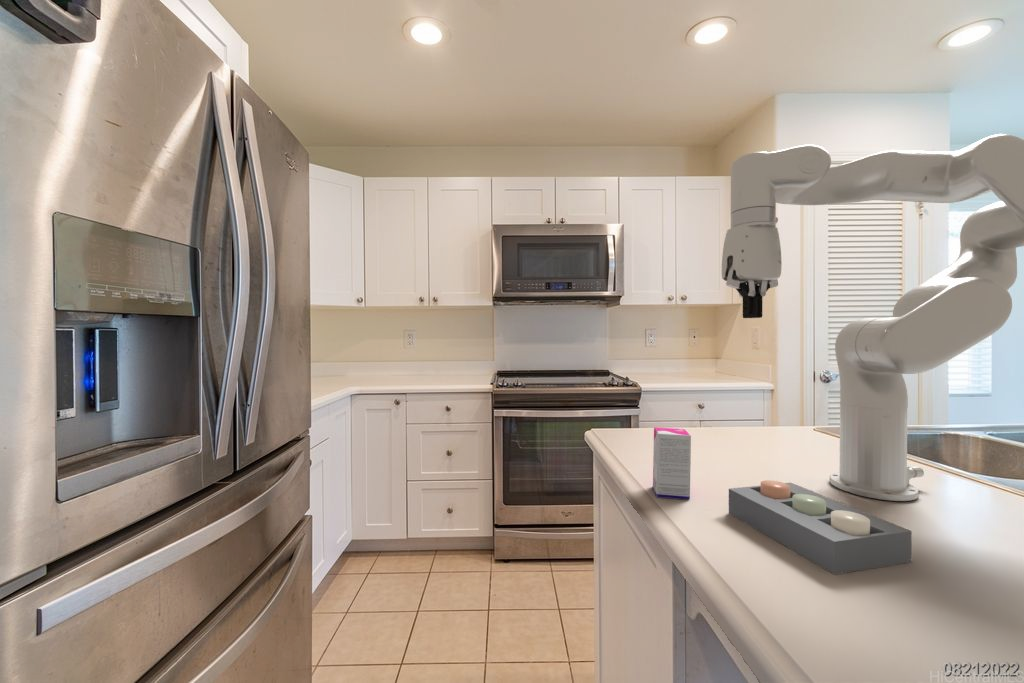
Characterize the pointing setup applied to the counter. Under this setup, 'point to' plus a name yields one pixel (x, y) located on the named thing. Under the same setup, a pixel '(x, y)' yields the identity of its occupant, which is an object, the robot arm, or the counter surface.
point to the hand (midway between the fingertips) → (752, 317)
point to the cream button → (850, 522)
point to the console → (821, 531)
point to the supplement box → (671, 463)
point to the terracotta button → (775, 489)
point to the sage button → (809, 504)
